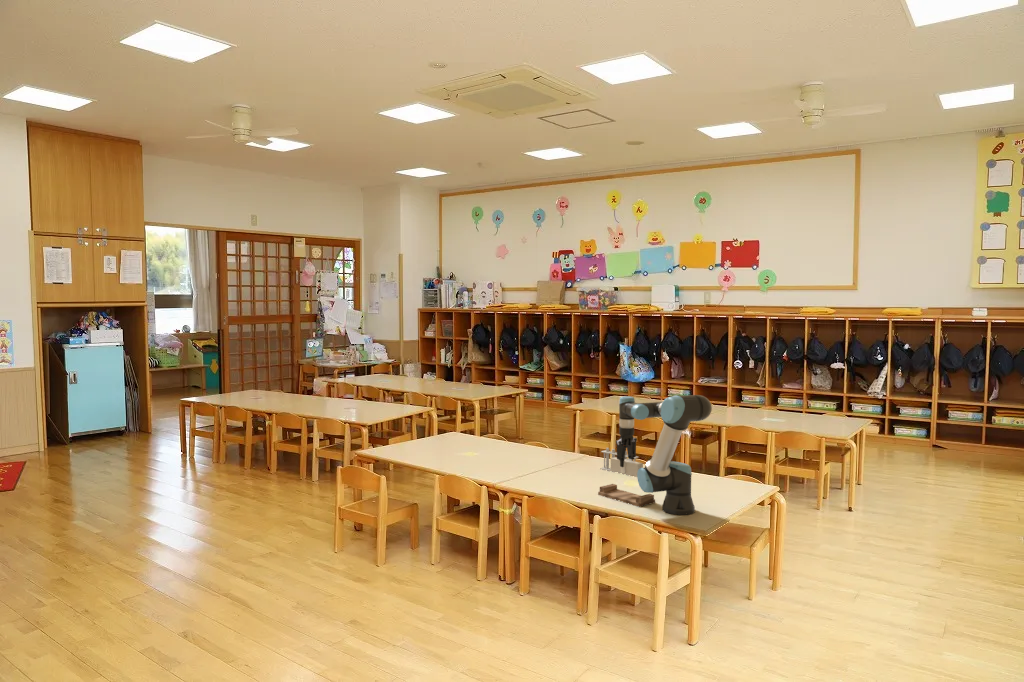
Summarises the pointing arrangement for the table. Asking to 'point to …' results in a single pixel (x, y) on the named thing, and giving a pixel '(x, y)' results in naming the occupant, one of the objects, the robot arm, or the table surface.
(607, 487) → the brown notched plank
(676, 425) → the robot arm
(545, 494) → the table surface
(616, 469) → the grey rectangular block
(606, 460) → the test tube rack
